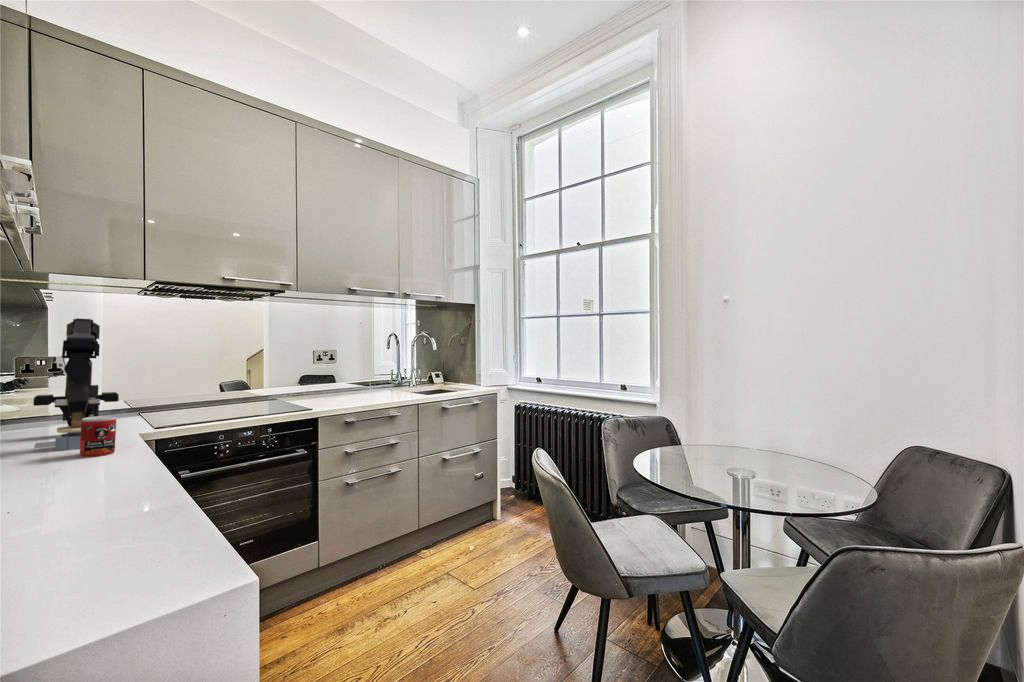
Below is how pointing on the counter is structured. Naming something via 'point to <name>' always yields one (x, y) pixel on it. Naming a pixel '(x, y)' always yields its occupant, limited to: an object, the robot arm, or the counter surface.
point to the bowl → (68, 441)
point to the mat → (45, 444)
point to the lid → (73, 424)
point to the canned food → (97, 436)
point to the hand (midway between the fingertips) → (76, 425)
